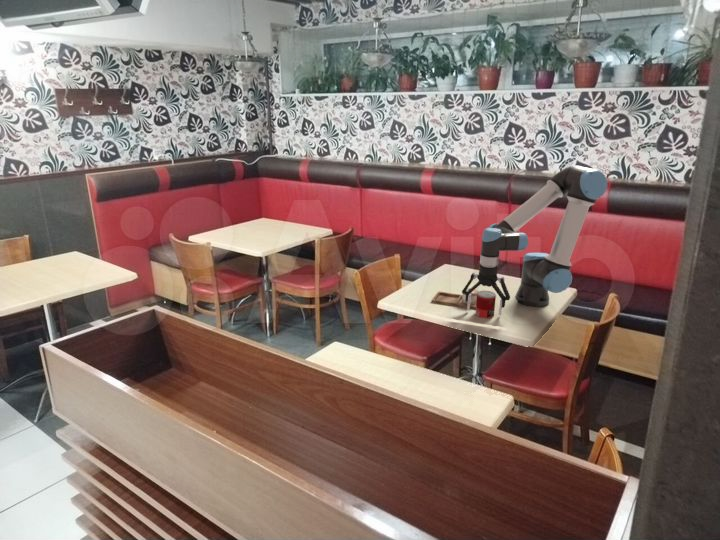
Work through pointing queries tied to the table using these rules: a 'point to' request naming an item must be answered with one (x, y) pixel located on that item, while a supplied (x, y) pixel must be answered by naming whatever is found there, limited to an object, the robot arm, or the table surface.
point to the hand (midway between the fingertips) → (484, 311)
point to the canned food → (485, 304)
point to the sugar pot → (473, 297)
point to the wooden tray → (450, 299)
